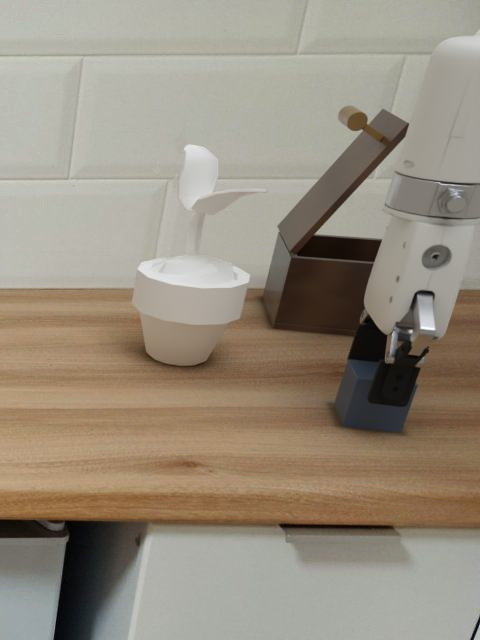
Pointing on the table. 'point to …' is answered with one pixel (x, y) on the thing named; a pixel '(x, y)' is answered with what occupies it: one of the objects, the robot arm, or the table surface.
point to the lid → (343, 173)
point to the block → (366, 401)
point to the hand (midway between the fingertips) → (374, 383)
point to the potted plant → (191, 273)
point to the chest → (320, 284)
